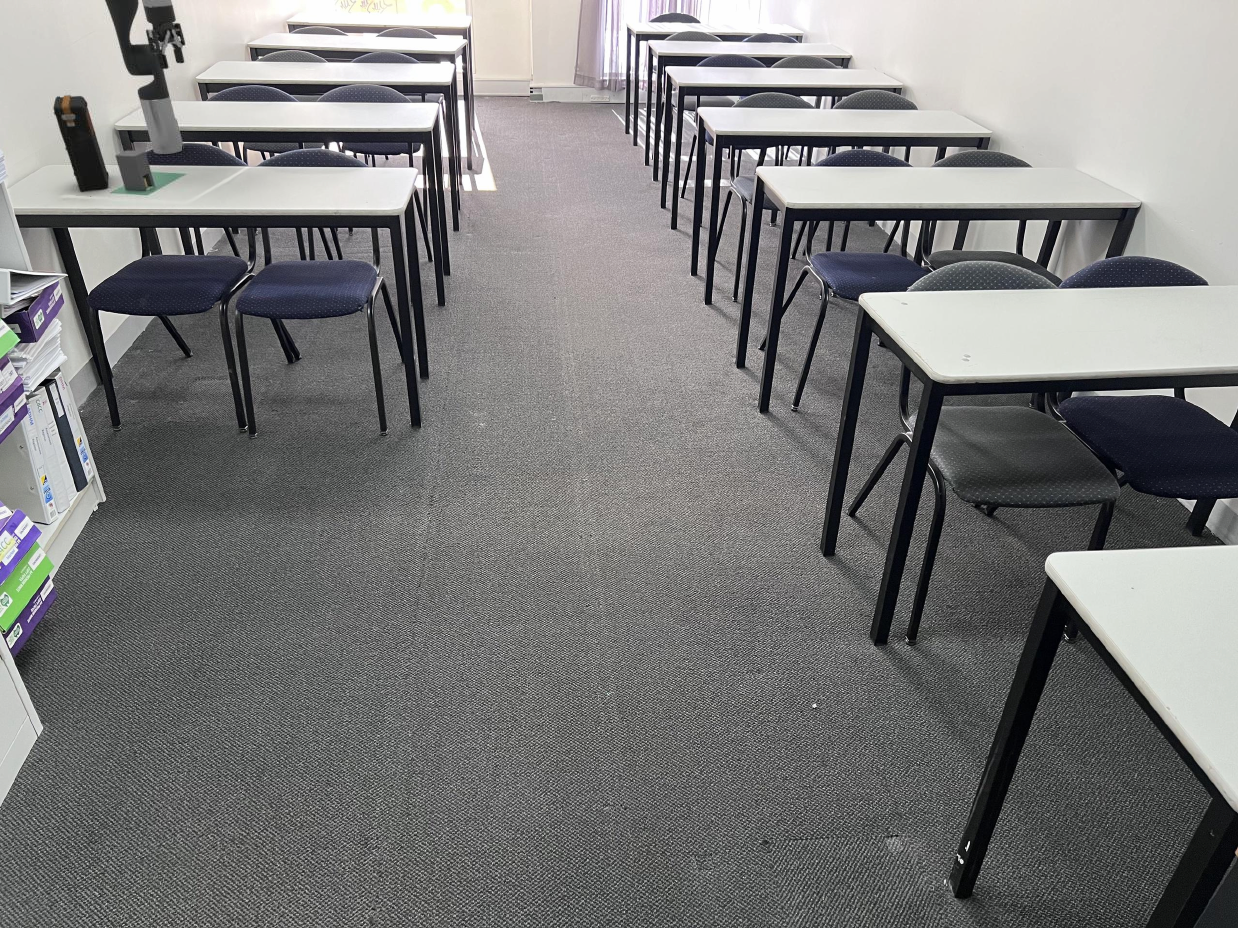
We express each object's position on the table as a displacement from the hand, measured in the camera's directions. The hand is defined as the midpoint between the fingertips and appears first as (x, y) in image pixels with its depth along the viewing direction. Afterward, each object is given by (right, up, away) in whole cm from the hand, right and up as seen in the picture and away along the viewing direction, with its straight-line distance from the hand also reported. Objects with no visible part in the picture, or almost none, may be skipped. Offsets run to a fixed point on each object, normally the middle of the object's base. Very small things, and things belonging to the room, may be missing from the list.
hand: (172, 66), depth 259 cm
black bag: (-30, -32, +12) cm, 45 cm away
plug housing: (-14, -33, +8) cm, 36 cm away
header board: (-13, -31, +13) cm, 36 cm away
